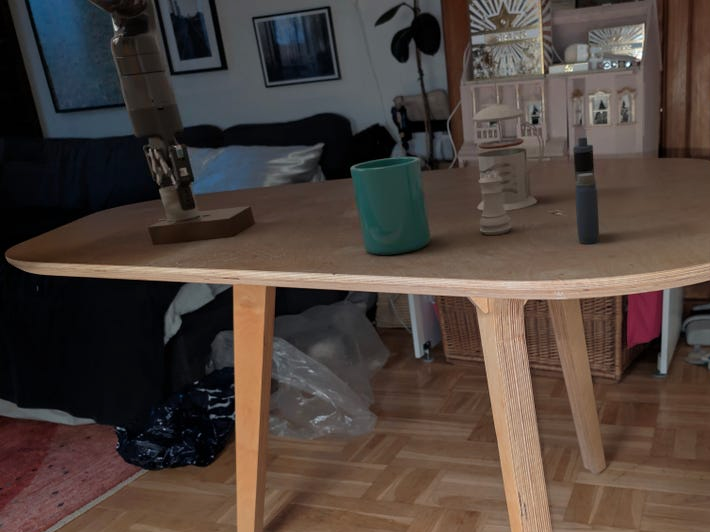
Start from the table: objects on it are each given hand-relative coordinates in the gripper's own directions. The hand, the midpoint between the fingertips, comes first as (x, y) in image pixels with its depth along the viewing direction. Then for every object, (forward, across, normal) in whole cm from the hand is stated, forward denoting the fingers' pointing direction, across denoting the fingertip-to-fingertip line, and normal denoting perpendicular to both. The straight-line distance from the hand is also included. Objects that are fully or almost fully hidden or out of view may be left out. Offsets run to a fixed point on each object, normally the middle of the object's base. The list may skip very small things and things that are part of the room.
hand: (181, 207), depth 119 cm
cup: (+5, +44, +13) cm, 47 cm away
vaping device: (+5, +67, +26) cm, 72 cm away
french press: (+5, +41, +38) cm, 56 cm away
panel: (+5, +2, +2) cm, 6 cm away
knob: (+2, 0, 0) cm, 2 cm away
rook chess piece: (+5, +52, +24) cm, 58 cm away
